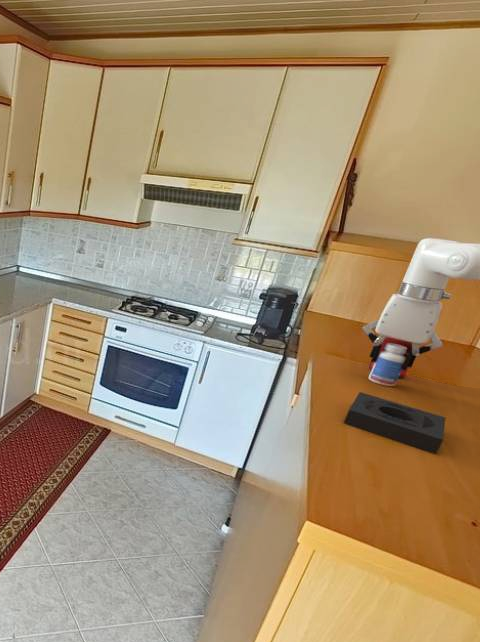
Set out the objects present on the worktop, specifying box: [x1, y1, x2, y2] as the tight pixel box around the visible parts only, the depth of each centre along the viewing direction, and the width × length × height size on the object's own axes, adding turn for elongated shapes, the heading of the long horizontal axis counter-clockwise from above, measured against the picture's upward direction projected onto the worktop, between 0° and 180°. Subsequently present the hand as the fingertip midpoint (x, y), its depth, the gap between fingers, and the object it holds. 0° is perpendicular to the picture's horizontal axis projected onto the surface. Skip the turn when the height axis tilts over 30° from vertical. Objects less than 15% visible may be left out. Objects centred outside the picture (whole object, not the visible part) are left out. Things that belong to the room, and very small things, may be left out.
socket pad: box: [343, 391, 446, 455], centre depth 97 cm, size 14×14×3 cm
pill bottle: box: [368, 343, 407, 387], centre depth 120 cm, size 6×5×10 cm
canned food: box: [369, 337, 412, 379], centre depth 127 cm, size 8×8×11 cm
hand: (388, 364), depth 120 cm, fingers closed on pill bottle, 5 cm apart
